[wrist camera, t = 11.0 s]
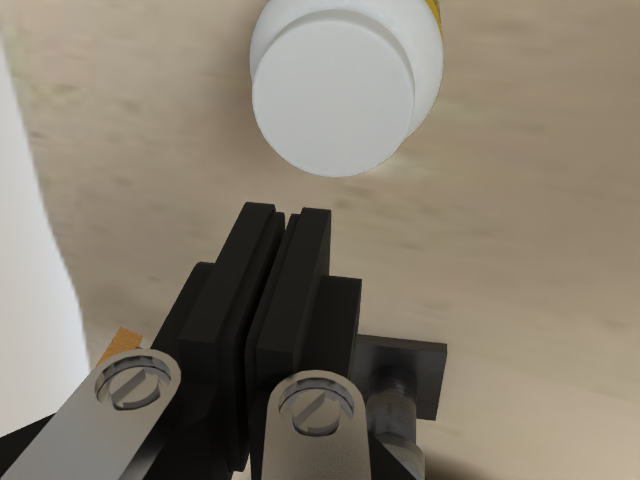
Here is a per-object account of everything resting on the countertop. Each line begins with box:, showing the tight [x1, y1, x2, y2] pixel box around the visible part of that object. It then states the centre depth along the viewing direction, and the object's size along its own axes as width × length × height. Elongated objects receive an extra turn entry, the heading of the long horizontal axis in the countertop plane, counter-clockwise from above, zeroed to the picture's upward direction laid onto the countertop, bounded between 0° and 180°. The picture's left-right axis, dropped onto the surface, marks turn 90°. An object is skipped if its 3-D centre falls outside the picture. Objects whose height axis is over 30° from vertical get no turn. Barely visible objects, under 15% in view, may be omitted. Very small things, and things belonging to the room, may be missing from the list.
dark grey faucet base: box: [351, 334, 447, 444], centre depth 36 cm, size 6×6×6 cm
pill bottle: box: [249, 0, 444, 177], centre depth 22 cm, size 6×6×12 cm
